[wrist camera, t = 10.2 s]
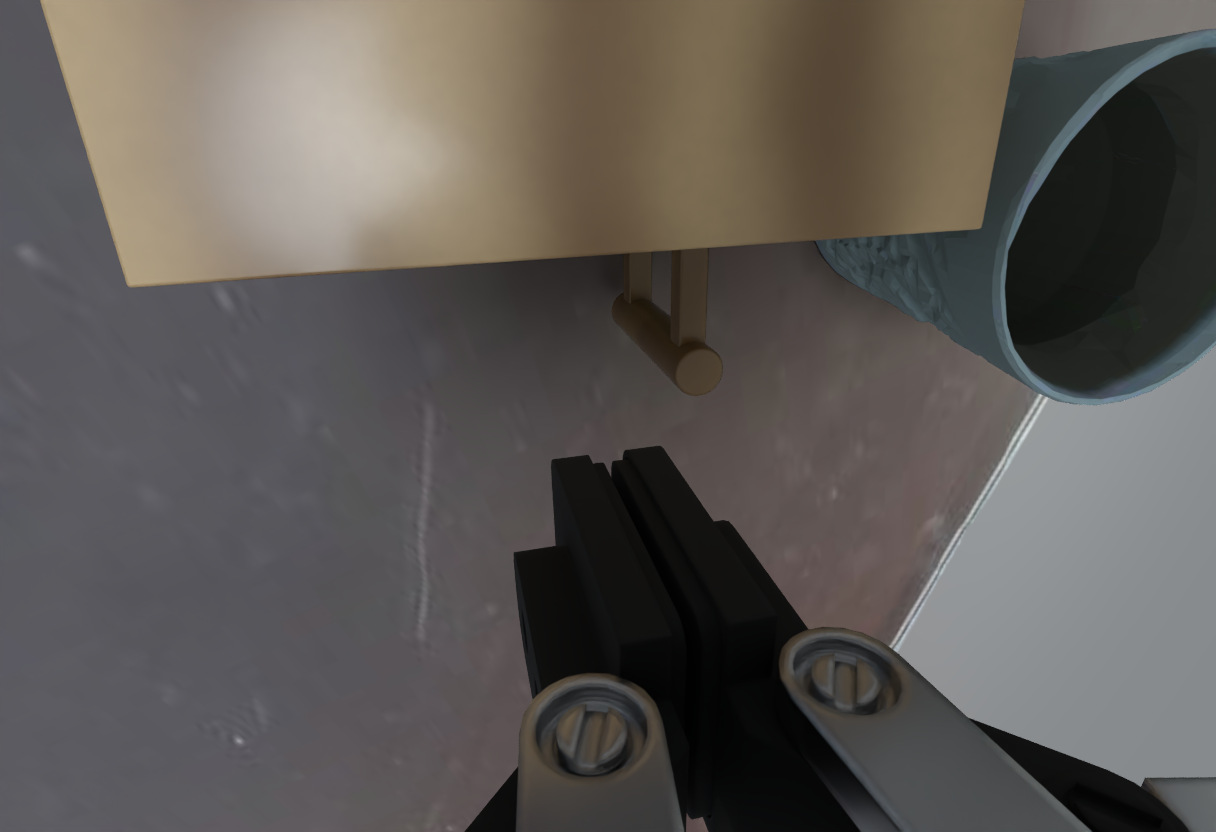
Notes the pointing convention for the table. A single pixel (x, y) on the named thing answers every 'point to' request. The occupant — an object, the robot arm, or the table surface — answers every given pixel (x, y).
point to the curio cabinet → (524, 126)
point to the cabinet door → (671, 319)
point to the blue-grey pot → (1078, 228)
